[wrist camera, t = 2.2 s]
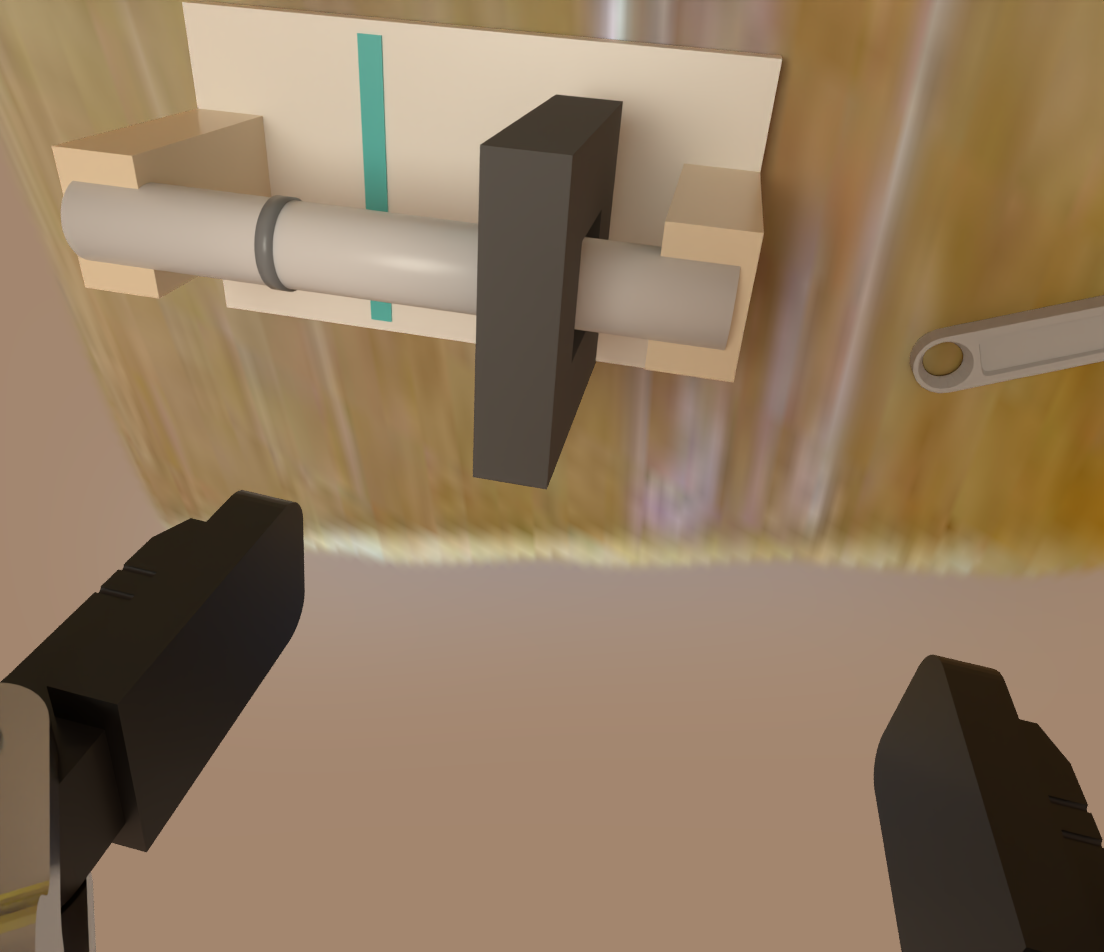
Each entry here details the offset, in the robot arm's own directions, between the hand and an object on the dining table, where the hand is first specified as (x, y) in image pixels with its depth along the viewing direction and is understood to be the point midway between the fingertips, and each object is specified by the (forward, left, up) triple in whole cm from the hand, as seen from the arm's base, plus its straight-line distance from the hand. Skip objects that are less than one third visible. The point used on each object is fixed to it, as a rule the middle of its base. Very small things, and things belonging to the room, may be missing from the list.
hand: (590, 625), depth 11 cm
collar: (+4, +2, -24) cm, 24 cm away
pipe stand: (+10, +2, -29) cm, 30 cm away
